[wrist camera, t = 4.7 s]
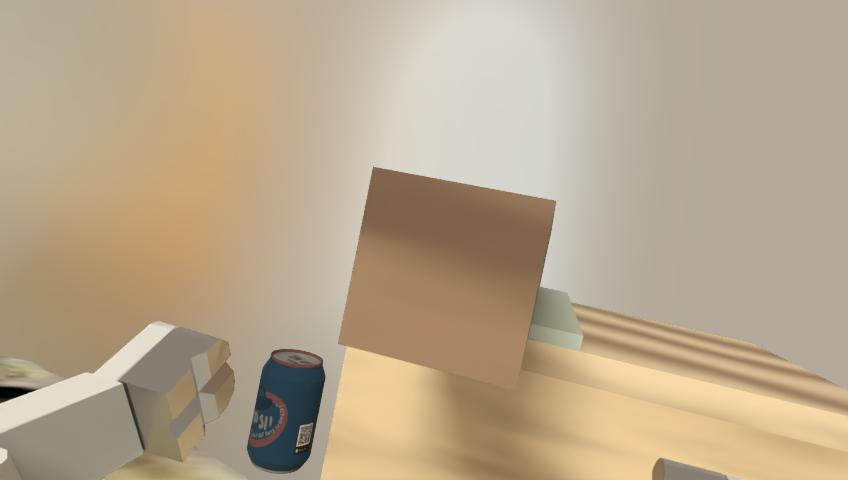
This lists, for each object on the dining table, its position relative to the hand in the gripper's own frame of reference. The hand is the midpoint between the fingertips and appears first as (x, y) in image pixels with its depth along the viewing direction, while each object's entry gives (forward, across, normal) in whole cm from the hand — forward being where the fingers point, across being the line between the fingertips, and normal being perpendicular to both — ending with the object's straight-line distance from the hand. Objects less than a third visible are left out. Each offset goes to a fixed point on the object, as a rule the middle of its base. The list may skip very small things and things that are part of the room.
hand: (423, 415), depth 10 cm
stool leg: (+13, 0, -7) cm, 15 cm away
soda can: (+28, -22, -46) cm, 59 cm away
